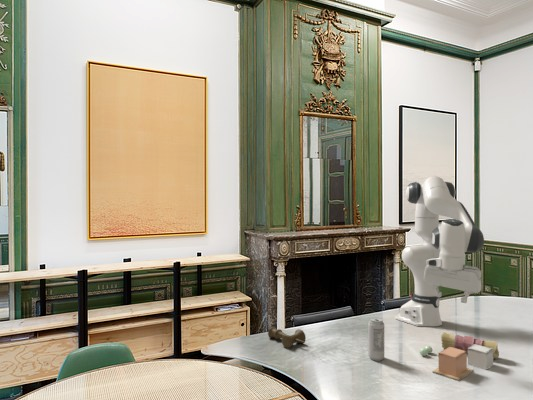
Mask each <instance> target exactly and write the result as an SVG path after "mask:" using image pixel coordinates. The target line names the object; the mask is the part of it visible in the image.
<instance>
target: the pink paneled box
mask: <svg viewBox="0 0 533 400" xmlns="http://www.w3.org/2000/svg"><path fill="white" fill-rule="evenodd" d="M438 368H439V371H440V372H443V373H446V374H449V375H452V376H455V377H456V376H458V375H459V374H461V373H462V372H464V371H465V370H467V368H468V355H467V351H464V350H460V349H456V348H453V347H448V348H444V349H443V350H441V351H439V352H438Z"/></svg>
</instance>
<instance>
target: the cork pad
mask: <svg viewBox="0 0 533 400" xmlns="http://www.w3.org/2000/svg"><path fill="white" fill-rule="evenodd" d="M473 371H474V369H472V368H469V367H467V370H465V371H464V372H462V373H461V374H459V375H458V376H456V377H455V376H452V375H449V374H446V373H443V372H440V371H439V367H437V368H435V369H434V370H432V373H433V374H436V375H438V376H439V375H440V376H442V377H445V378H448V379H451V380H453V381H457V382H460V381H461V380H463V378H465V377H467V376H468V375H470V374H471V373H473Z"/></svg>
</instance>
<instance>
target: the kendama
mask: <svg viewBox="0 0 533 400" xmlns="http://www.w3.org/2000/svg"><path fill="white" fill-rule="evenodd" d="M267 337H268V338H269V339H276V340H281V344H282V346H283V347H284V348H285V349H288V350H290V348H292V346H293V344H296V343H298V344H301V345H302V344H305V343H306V339H307V338H306V333H305V332H304V330H302V329H299V328H298V329H295V331H294V334H291V335H288V334H287V333H284V332H283V331H282V329H277V327H276V326H271V327H269V329H268V332H267Z"/></svg>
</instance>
